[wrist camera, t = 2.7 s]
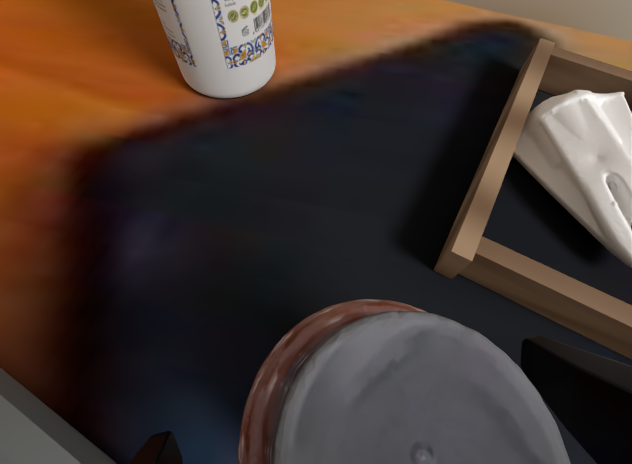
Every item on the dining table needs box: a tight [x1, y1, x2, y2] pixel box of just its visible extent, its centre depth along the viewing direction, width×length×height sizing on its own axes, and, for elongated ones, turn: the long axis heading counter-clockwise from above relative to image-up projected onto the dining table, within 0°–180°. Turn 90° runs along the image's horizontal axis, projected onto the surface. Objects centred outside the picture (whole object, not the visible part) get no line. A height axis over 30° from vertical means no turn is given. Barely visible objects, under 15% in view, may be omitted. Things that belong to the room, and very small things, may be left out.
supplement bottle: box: [238, 299, 570, 464], centre depth 9 cm, size 6×6×11 cm
